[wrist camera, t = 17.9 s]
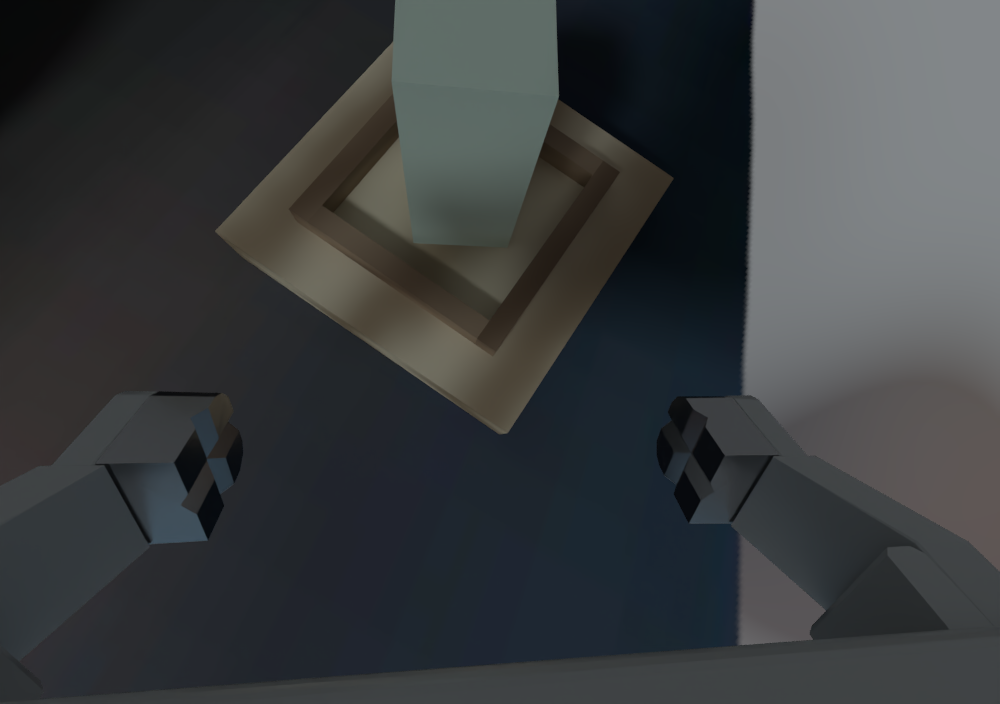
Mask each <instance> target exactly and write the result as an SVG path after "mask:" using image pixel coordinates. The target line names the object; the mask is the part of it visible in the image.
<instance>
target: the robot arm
mask: <svg viewBox="0 0 1000 704" xmlns="http://www.w3.org/2000/svg"><path fill="white" fill-rule="evenodd" d="M232 413H233V409H232V406H231V403H230V400H229V397H228V396H226V395H224V394H222V393H198V392H162V391H159V392H143V391H125V392H122V393H120V394H117V395H115V396H114V397H113V398H112V399H111V400H110V402H109V403H108V404H107V405H106V406H105V407H104V408H103V409H102V410H101V412H100V413H99V414H98V415H97V416H96V417H95V418H94V419H93V420H92V421H91V423H90V424H89V425H88V426H87V427H86V428H85V429H84V430H83V431H82V432H81V434H80V435H79V436H78V437H77V438H76V439H75V440H74V441H73V442H72V443H71V445H70V446H69V447H68V448H67V449H66V450H65V451H64V452H63V453H62V455H61V456H60V457H59V458H58V459H57V460H56V461H55V462H54V463H53V464H52V466H38V467H37V468H35V469H33V470H31V471H29V472H27V473H25V474H23V475H21V476H19V477H17V478H15V479H13V480H11V481H9V482H7V483H5V484H3V485H1V486H0V704H1000V572H999V571H998V570H997V569H996V568H995V567H994V566H993V565H992V564H991V563H990V562H989V561H988V560H987V559H986V558H985V557H984V556H983V555H982V554H980V552H979V551H977V549H976V548H974V547H973V546H972V545H971V544H970V543H969V542H968V541H966V540H965V539H963V538H961V537H959V536H957V535H955V534H954V533H952V532H950V531H948V530H947V529H945V528H943V527H941V526H940V525H938V524H936V523H934V522H932V521H930V520H929V519H927V518H925V517H924V516H922V515H920V514H918V513H916V512H915V511H913V510H911V509H909V508H907V507H906V506H904V505H902V504H900V503H898V502H896V501H895V500H893V499H891V498H889V497H888V496H886V495H884V494H882V493H881V492H879V491H877V490H875V489H874V488H872V487H870V486H868V485H866V484H864V483H863V482H861V481H859V480H857V479H856V478H854V477H852V476H850V475H849V474H847V473H845V472H843V471H841V470H840V469H838V468H836V467H834V466H832V465H831V464H829V463H827V462H825V461H824V460H822V459H820V458H818V457H817V456H807V454H806V453H805V452H804V451H803V450H802V449H801V448H800V446H799V445H798V444H797V443H796V442H795V441H794V440H793V438H792V437H791V436H790V435H789V434H788V433H787V432H786V430H785V429H784V428H783V427H782V426H781V425H780V424H779V422H778V421H777V420H776V419H775V418H774V417H773V416H772V415H771V413H770V412H769V411H768V410H767V409H766V408H765V406H764V405H763V404H762V403H761V402H760V401H759V400H758V399H756V398H754V397H752V396H725V397H722V396H678V397H677V398H676V399H675V400H674V401H673V402H672V403H671V406H670V408H669V410H668V413H669V416H670V418H671V420H672V421H670V422H669V423H668V424H666V425H665V426H664V427H663V428H661V431H660V433H659V436H658V439H657V458H658V462H659V465H660V468H661V470H662V472H663V474H664V476H666V477H667V478H668V479H670V480H671V481H672V482H674V483H675V484H676V488H675V492H674V496H675V498H676V500H677V501H678V503H679V505H680V507H681V509H682V511H683V513H684V515H685V517H686V519H687V521H688V523H689V524H719V523H732V525H731V526H732V527H733V528H734V529H735V530H736V531H738V532H739V533H740V534H741V535H742V536H743V537H744V538H745V539H746V540H748V541H749V542H750V543H751V544H752V545H753V546H754V547H756V548H757V549H758V550H759V551H760V552H761V553H762V554H763V555H764V556H766V557H767V558H768V559H769V560H770V561H772V563H773V564H775V565H776V566H777V567H778V568H779V569H780V570H781V571H782V572H783V573H785V574H786V575H787V576H788V577H789V578H790V579H791V580H792V581H794V582H795V583H796V584H797V585H798V586H799V587H800V588H802V589H803V590H804V591H805V592H806V593H807V594H808V595H809V596H810V597H812V598H813V599H814V600H815V601H816V602H817V603H818V604H819V605H820V606H822V607H823V608H824V609H825V610H826V612H825V613H824V614H823V615H822V616H821V617H820V618H819V619H818V620H817V621H816V622H815V623H814V624H813V625H812V627H811V630H810V635H811V637H812V638H813V640H806V641H792V642H779V643H766V644H754V645H740V646H727V647H713V648H700V649H687V650H674V651H661V652H648V653H635V654H621V655H608V656H595V657H582V658H569V659H556V660H542V661H529V662H516V663H503V664H490V665H477V666H464V667H451V668H438V669H425V670H412V671H399V672H385V673H372V674H359V675H346V676H333V677H320V678H307V679H294V680H281V681H268V682H255V683H242V684H229V685H216V686H203V687H190V688H177V689H164V690H151V691H138V692H125V693H112V694H99V695H86V696H73V697H60V698H47V699H40V697H41V695H42V693H43V692H44V690H43V687H42V684H41V681H40V680H39V679H38V678H37V677H35V676H34V675H33V674H32V673H31V672H30V671H29V670H28V669H27V668H25V667H24V666H23V665H22V664H21V663H20V662H19V661H20V660H21V659H22V658H23V657H25V656H26V655H27V654H28V653H29V652H30V651H31V650H33V649H34V648H35V647H36V646H37V645H38V644H39V643H41V642H42V641H43V640H44V639H45V638H46V637H47V636H49V635H50V634H51V633H52V632H53V631H54V630H55V629H57V628H58V627H59V626H60V625H61V624H62V623H63V622H65V621H66V620H67V619H68V618H69V617H70V616H71V615H73V614H74V613H75V612H76V611H77V610H78V609H79V608H81V607H82V606H83V605H84V604H85V603H86V602H87V601H89V600H90V599H91V598H92V597H93V596H94V595H95V594H97V593H98V592H99V591H100V590H101V589H102V588H103V587H105V586H106V585H107V584H108V583H109V582H110V581H111V580H113V579H114V578H115V577H116V576H117V575H118V574H119V573H121V572H122V571H123V570H124V569H125V568H126V567H127V566H129V565H130V564H131V563H132V562H133V561H134V560H135V559H137V558H138V557H139V556H140V555H141V554H142V553H143V552H145V551H146V550H147V549H148V548H149V544H159V543H176V542H192V541H208V539H209V537H210V535H211V533H212V531H213V528H214V526H215V524H216V522H217V520H218V518H219V515H220V513H221V511H222V509H223V507H224V504H223V501H222V498H221V495H220V494H221V493H222V492H224V491H225V490H226V489H228V488H229V487H230V486H232V485H233V484H234V483H235V480H236V478H237V476H238V473H239V471H240V467H241V462H242V456H243V446H242V438H241V435H240V431H239V430H238V429H237V428H235V427H234V426H233V425H232V424H230V423H229V422H228V421H229V419H230V417H231V415H232Z"/></svg>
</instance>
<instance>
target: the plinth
mask: <svg viewBox="0 0 1000 704" xmlns="http://www.w3.org/2000/svg"><path fill="white" fill-rule="evenodd" d="M392 61H393V43H392V44H391V45H390V46H389V47H388V48H387V49H386V50H385V51H384V52H383V53H382V54H381V55H380V56H379V57H378V58H377V60H376V61H375V62H374V63H373V64H372V65H371V66H370V67H369V68H368V69H367V70H366V71H365V72H364V73H363V74H362V76H361V77H360V78H359V79H358V80H357V81H356V82H355V83H354V84H353V85H352V86H351V87H350V88H349V89H348V90H347V91H346V93H345V94H344V95H343V96H342V97H341V98H340V99H339V100H338V101H337V102H336V103H335V104H334V105H333V106H332V107H331V109H330V110H329V111H328V112H327V113H326V114H325V115H324V116H323V117H322V118H321V119H320V120H319V121H318V122H317V123H316V124H315V126H314V127H313V128H312V129H311V130H310V131H309V132H308V133H307V134H306V135H305V136H304V137H303V138H302V139H301V140H300V142H299V143H298V144H297V145H296V146H295V147H294V148H293V149H292V150H291V151H290V152H289V153H288V154H287V155H286V156H285V157H284V159H283V160H282V161H281V162H280V163H279V164H278V165H277V166H276V167H275V168H274V169H273V170H272V171H271V172H270V173H269V174H268V176H267V177H266V178H265V179H264V180H263V181H262V182H261V183H260V184H259V185H258V186H257V187H256V188H255V189H254V190H253V192H252V193H251V194H250V195H249V196H248V197H247V198H246V199H245V200H244V201H243V202H242V203H241V204H240V205H239V206H238V207H237V209H236V210H235V211H234V212H233V213H232V214H231V215H230V216H229V217H228V218H227V219H226V220H225V221H224V222H223V223H222V225H221V226H220V227H219V228H218V229H217V230H216V231H215V232H216V233H217V234H218V235H219V236H220V237H222V238H223V239H224V240H225V241H226V242H227V243H228V244H229V245H230V246H231V247H232V248H233V249H234V250H235V251H236V252H237V253H238V254H240V255H241V256H242V257H243V258H244V259H246V260H247V261H248V262H250V263H251V264H253V265H254V266H256V267H257V268H259V269H260V270H262V271H263V272H264V273H266V274H267V275H269V276H270V277H272V278H273V279H275V280H276V281H278V282H279V283H280V284H282V285H283V286H285V287H286V288H288V289H289V290H291V291H292V292H293V293H295V294H296V295H298V296H299V297H301V298H302V299H304V300H305V301H307V302H308V303H309V304H311V305H312V306H314V307H315V308H317V309H318V310H320V311H321V312H323V313H324V314H325V315H327V316H328V317H330V318H331V319H333V320H334V321H336V322H337V323H338V324H340V325H341V326H343V327H344V328H346V329H347V330H349V331H350V332H352V333H353V334H354V335H356V336H357V337H359V338H360V339H362V340H363V341H365V342H366V343H368V344H369V345H370V346H372V347H373V348H375V349H376V350H378V351H379V352H381V353H382V354H384V355H385V356H386V357H388V358H389V359H391V360H392V361H394V362H395V363H397V364H398V365H399V366H401V367H402V368H404V369H405V370H407V371H408V372H410V373H411V374H413V375H414V376H415V377H417V378H418V379H420V380H421V381H423V382H424V383H426V384H427V385H429V386H430V387H431V388H433V389H434V390H436V391H437V392H439V393H440V394H442V395H443V396H444V397H446V398H447V399H449V400H450V401H452V402H453V403H455V404H456V405H458V406H459V407H460V408H462V409H463V410H465V411H466V412H468V413H469V414H471V415H472V416H474V417H475V418H476V419H478V420H479V421H481V422H482V423H484V424H485V425H487V426H488V427H489V428H491V429H492V430H494V431H495V432H497V433H498V434H505V433H508V432H509V430H510V429H511V427H512V426H513V424H514V423H515V421H516V420H517V418H518V416H519V415H520V413H521V412H522V410H523V409H524V407H525V406H526V404H527V403H528V401H529V400H530V398H531V397H532V395H533V393H534V392H535V390H536V389H537V387H538V386H539V384H540V383H541V381H542V380H543V378H544V377H545V375H546V374H547V372H548V370H549V369H550V367H551V366H552V364H553V363H554V361H555V360H556V358H557V357H558V355H559V354H560V352H561V350H562V349H563V347H564V346H565V344H566V343H567V341H568V340H569V338H570V337H571V335H572V334H573V332H574V331H575V329H576V327H577V326H578V324H579V323H580V321H581V320H582V318H583V317H584V315H585V314H586V312H587V311H588V309H589V308H590V306H591V304H592V303H593V301H594V300H595V298H596V297H597V295H598V294H599V292H600V291H601V289H602V288H603V286H604V285H605V283H606V281H607V280H608V278H609V277H610V275H611V274H612V272H613V271H614V269H615V268H616V266H617V265H618V263H619V262H620V260H621V258H622V257H623V255H624V254H625V252H626V251H627V249H628V248H629V246H630V245H631V243H632V242H633V240H634V239H635V237H636V235H637V234H638V232H639V231H640V229H641V228H642V226H643V225H644V223H645V222H646V220H647V219H648V217H649V215H650V214H651V212H652V211H653V209H654V208H655V206H656V205H657V203H658V202H659V200H660V199H661V197H662V196H663V194H664V192H665V191H666V189H667V188H668V186H669V185H670V183H671V182H672V180H673V179H674V178H673V177H671V176H670V175H668V174H667V173H666V172H664V171H663V170H661V169H660V168H658V167H657V166H655V165H654V164H652V163H651V162H649V161H648V160H646V159H645V158H644V157H642V156H641V155H639V154H638V153H636V152H635V151H633V150H632V149H630V148H629V147H627V146H626V145H624V144H623V143H622V142H620V141H619V140H617V139H616V138H614V137H613V136H611V135H610V134H608V133H607V132H605V131H604V130H602V129H601V128H600V127H598V126H597V125H595V124H594V123H592V122H591V121H589V120H588V119H586V118H585V117H583V116H582V115H580V114H579V113H578V112H576V111H575V110H573V109H572V108H570V107H569V106H567V105H566V104H564V103H563V102H561V101H560V100H558V101H557V104H556V107H555V110H554V112H553V115H552V118H551V121H550V124H549V127H548V130H547V133H546V136H545V139H544V142H543V145H542V148H541V151H540V154H539V157H538V160H537V163H536V165H535V168H534V171H533V174H532V177H531V180H530V183H529V186H528V189H527V192H526V195H525V198H524V201H523V204H522V207H521V210H520V213H519V215H518V218H517V221H516V224H515V227H514V230H513V233H512V236H511V239H510V242H509V245H508V248H502V247H482V246H462V245H441V244H421V243H413V236H412V228H411V221H410V214H409V206H408V199H407V192H406V184H405V177H404V170H403V162H402V155H401V148H400V140H399V133H398V125H397V118H396V111H395V103H394V96H393V89H392Z"/></svg>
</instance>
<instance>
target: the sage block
mask: <svg viewBox="0 0 1000 704" xmlns="http://www.w3.org/2000/svg"><path fill="white" fill-rule="evenodd" d="M392 89H393V96H394V103H395V111H396V118H397V125H398V133H399V140H400V148H401V155H402V162H403V170H404V177H405V184H406V192H407V199H408V206H409V214H410V221H411V228H412V236H413V243H421V244H441V245H462V246H482V247H502V248H508V245H509V242H510V239H511V236H512V233H513V230H514V227H515V224H516V221H517V218H518V215H519V213H520V210H521V207H522V204H523V201H524V198H525V195H526V192H527V189H528V186H529V183H530V180H531V177H532V174H533V171H534V168H535V165H536V163H537V160H538V157H539V154H540V151H541V148H542V145H543V142H544V139H545V136H546V133H547V130H548V127H549V124H550V121H551V118H552V115H553V112H554V110H555V107H556V104H557V101H558V98H559V85H558V54H557V24H556V0H395V20H394V41H393V61H392Z"/></svg>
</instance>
